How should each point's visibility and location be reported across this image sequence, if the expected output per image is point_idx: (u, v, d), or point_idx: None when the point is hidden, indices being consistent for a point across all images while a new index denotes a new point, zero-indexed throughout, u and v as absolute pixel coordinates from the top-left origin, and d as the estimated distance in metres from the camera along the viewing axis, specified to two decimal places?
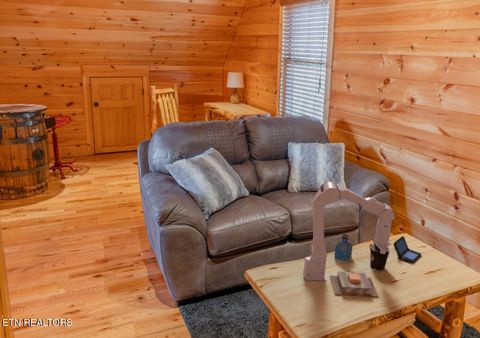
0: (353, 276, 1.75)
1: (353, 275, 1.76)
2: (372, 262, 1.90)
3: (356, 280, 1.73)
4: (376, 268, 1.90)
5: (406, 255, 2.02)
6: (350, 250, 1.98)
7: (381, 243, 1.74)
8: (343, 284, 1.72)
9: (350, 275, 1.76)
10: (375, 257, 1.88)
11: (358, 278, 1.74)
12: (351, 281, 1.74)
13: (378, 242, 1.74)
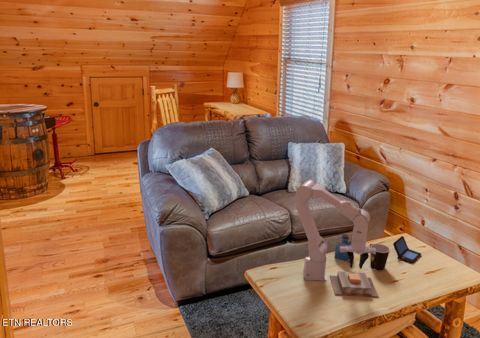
0: (353, 276, 1.75)
1: (353, 275, 1.76)
2: (372, 262, 1.90)
3: (356, 280, 1.73)
4: (376, 268, 1.90)
5: (406, 255, 2.02)
6: None
7: (351, 246, 1.72)
8: (343, 284, 1.72)
9: (350, 275, 1.76)
10: (375, 257, 1.88)
11: (358, 278, 1.74)
12: (351, 281, 1.74)
13: None
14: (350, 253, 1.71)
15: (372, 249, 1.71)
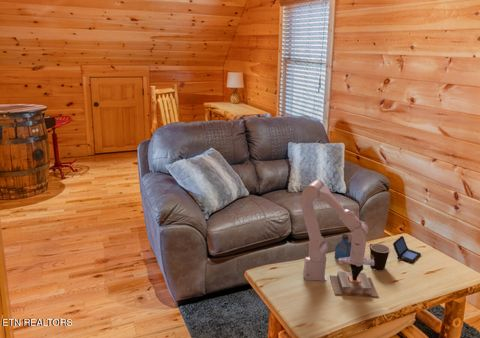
0: None
1: None
2: None
3: (355, 282, 1.74)
4: (376, 268, 1.90)
5: (406, 255, 2.02)
6: (350, 250, 1.98)
7: (349, 258, 1.73)
8: (343, 284, 1.72)
9: (350, 277, 1.76)
10: (375, 257, 1.88)
11: (358, 280, 1.74)
12: None
13: None
14: None
15: (370, 261, 1.72)
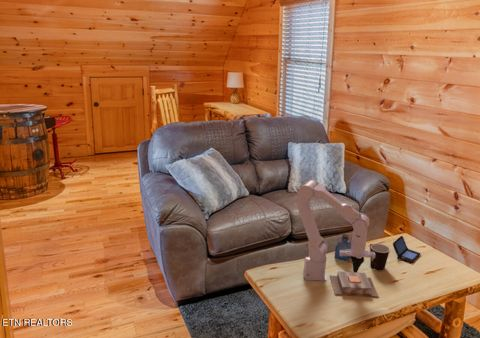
0: (353, 278, 1.76)
1: (353, 277, 1.76)
2: (372, 262, 1.90)
3: (355, 282, 1.74)
4: (376, 268, 1.90)
5: (405, 255, 2.02)
6: None
7: (350, 250, 1.72)
8: (343, 284, 1.72)
9: (350, 277, 1.76)
10: (375, 257, 1.88)
11: (358, 280, 1.74)
12: None
13: None
14: None
15: (371, 253, 1.71)
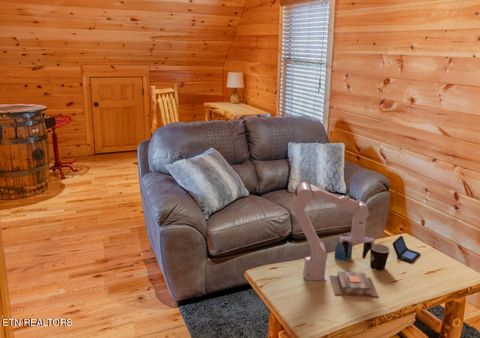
0: (353, 278, 1.76)
1: (353, 277, 1.76)
2: (372, 262, 1.90)
3: (355, 282, 1.74)
4: (376, 268, 1.90)
5: (405, 255, 2.02)
6: (350, 250, 1.98)
7: (350, 236, 1.78)
8: (343, 284, 1.72)
9: (350, 277, 1.76)
10: (375, 257, 1.88)
11: (358, 280, 1.74)
12: None
13: None
14: None
15: (371, 239, 1.77)
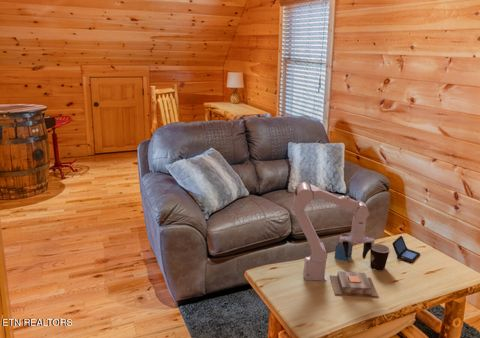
0: (353, 278, 1.76)
1: (353, 277, 1.76)
2: (372, 262, 1.90)
3: (355, 282, 1.74)
4: (376, 268, 1.90)
5: (405, 255, 2.02)
6: (350, 250, 1.98)
7: (350, 236, 1.78)
8: (343, 284, 1.72)
9: (350, 277, 1.76)
10: (375, 257, 1.88)
11: (358, 280, 1.74)
12: None
13: None
14: None
15: (371, 239, 1.77)
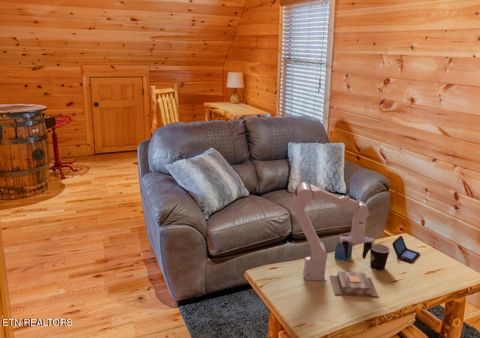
0: (353, 278, 1.76)
1: (353, 277, 1.76)
2: (372, 262, 1.90)
3: (355, 282, 1.74)
4: (376, 268, 1.90)
5: (405, 255, 2.02)
6: (350, 250, 1.98)
7: (350, 236, 1.78)
8: (343, 284, 1.72)
9: (350, 277, 1.76)
10: (375, 257, 1.88)
11: (358, 280, 1.74)
12: None
13: None
14: None
15: (371, 239, 1.77)
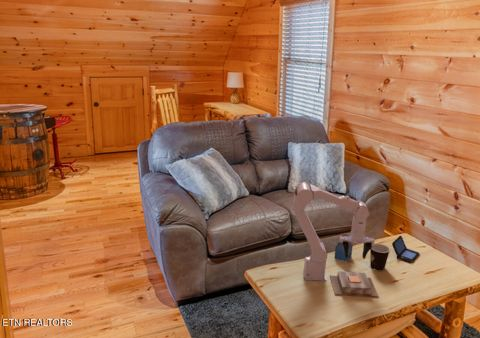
0: (353, 278, 1.76)
1: (353, 277, 1.76)
2: (372, 262, 1.90)
3: (355, 282, 1.74)
4: (376, 268, 1.90)
5: (405, 254, 2.02)
6: (350, 250, 1.98)
7: (350, 236, 1.78)
8: (343, 284, 1.72)
9: (350, 277, 1.76)
10: (375, 257, 1.88)
11: (358, 280, 1.74)
12: None
13: None
14: None
15: (371, 239, 1.77)
